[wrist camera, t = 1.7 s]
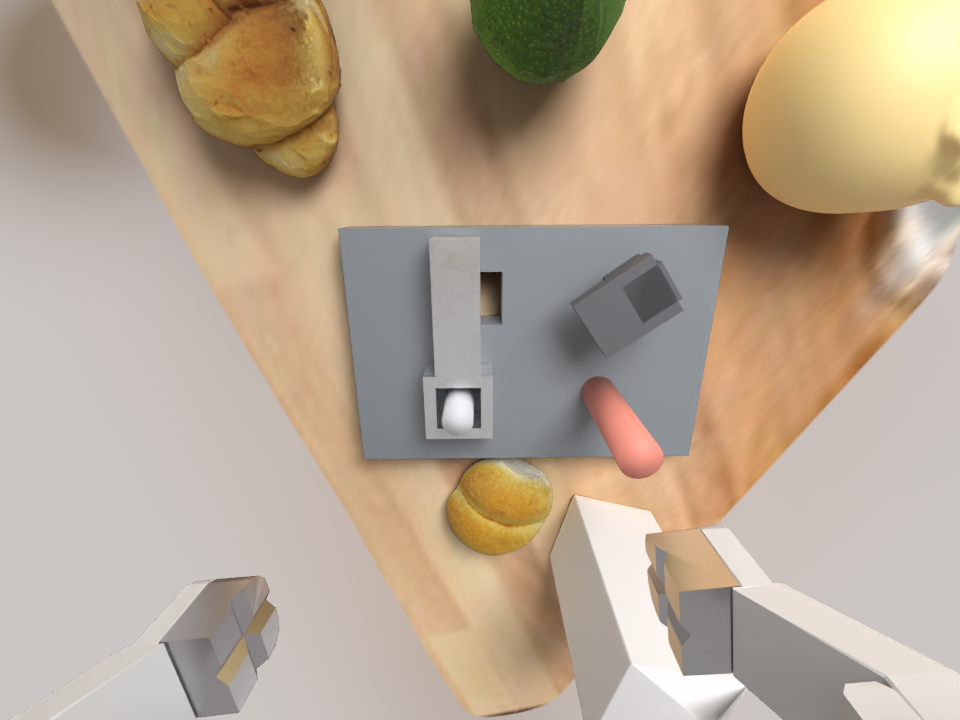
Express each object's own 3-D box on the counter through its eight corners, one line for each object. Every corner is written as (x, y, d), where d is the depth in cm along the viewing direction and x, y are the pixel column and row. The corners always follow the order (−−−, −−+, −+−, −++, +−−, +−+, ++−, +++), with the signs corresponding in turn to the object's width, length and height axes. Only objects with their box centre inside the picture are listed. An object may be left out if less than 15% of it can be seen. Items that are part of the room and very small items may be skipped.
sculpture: (890, 198, 30) (1099, 197, 20) (713, 222, 31) (830, 233, 21) (925, -4, 26) (1206, -132, 16) (722, 27, 27) (871, -79, 17)
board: (349, 226, 30) (314, 233, 24) (709, 223, 31) (773, 230, 24) (371, 442, 36) (347, 496, 30) (674, 439, 36) (718, 492, 30)
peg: (582, 376, 32) (620, 440, 23) (615, 376, 32) (666, 439, 23) (579, 406, 33) (616, 479, 24) (612, 406, 33) (660, 478, 24)
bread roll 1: (373, 170, 29) (338, 160, 22) (232, 192, 30) (150, 190, 22) (323, -73, 25) (257, -191, 18) (158, -44, 25) (25, -146, 18)
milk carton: (548, 555, 40) (605, 836, 23) (573, 492, 38) (659, 749, 20) (621, 570, 41) (733, 855, 23) (650, 509, 39) (799, 773, 21)
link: (491, 421, 33) (492, 438, 30) (429, 421, 33) (426, 439, 30) (492, 235, 28) (493, 238, 26) (420, 236, 28) (415, 239, 26)
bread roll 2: (434, 517, 39) (430, 551, 35) (480, 438, 36) (480, 465, 33) (516, 550, 40) (520, 586, 37) (566, 476, 38) (576, 506, 34)
